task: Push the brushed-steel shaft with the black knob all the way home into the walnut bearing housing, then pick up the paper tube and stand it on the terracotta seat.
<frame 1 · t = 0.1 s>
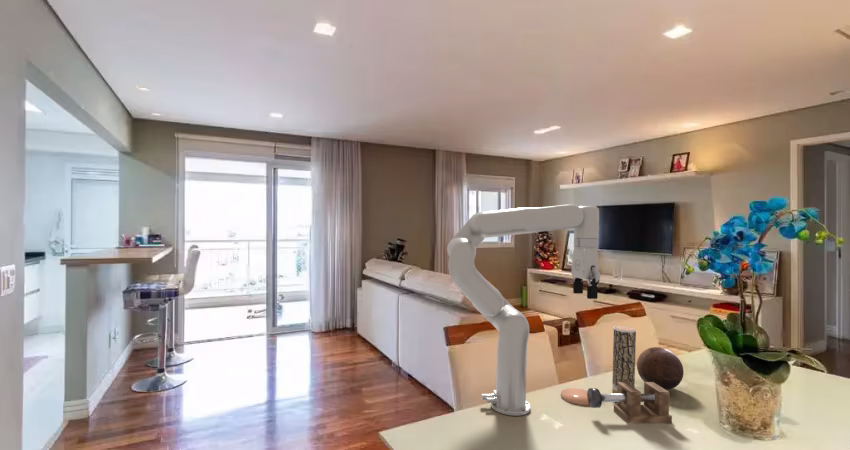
hand: (584, 295, 135), 37 cm above the table, tool pointing down, fingers open, 9 cm apart
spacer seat: (579, 398, 142), on the table
bearing housing: (641, 416, 129), on the table
wooden sphere: (659, 389, 152), on the table
shaft: (623, 397, 129), point 6 cm above the table, slide at 7.0 cm
paper tube: (622, 402, 140), on the table
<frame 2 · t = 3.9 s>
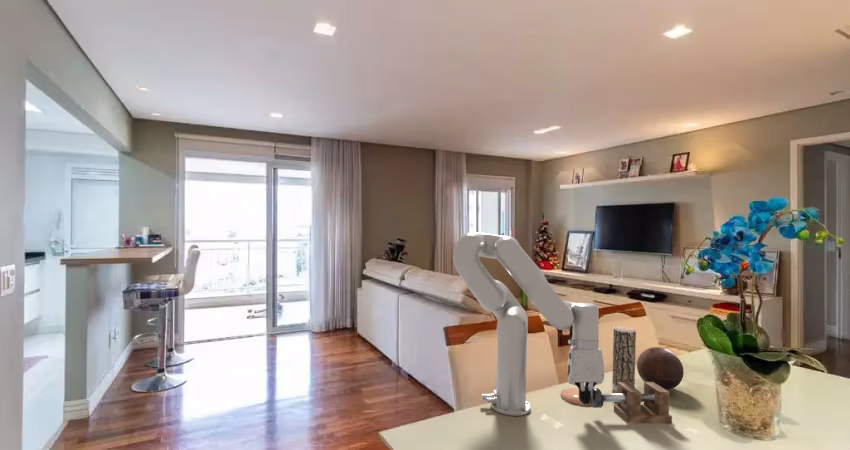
hand: (584, 402, 128), 5 cm above the table, tool pointing down, fingers closed
shaft: (624, 397, 129), point 6 cm above the table, slide at 6.6 cm, touching gripper
everything else where it was.
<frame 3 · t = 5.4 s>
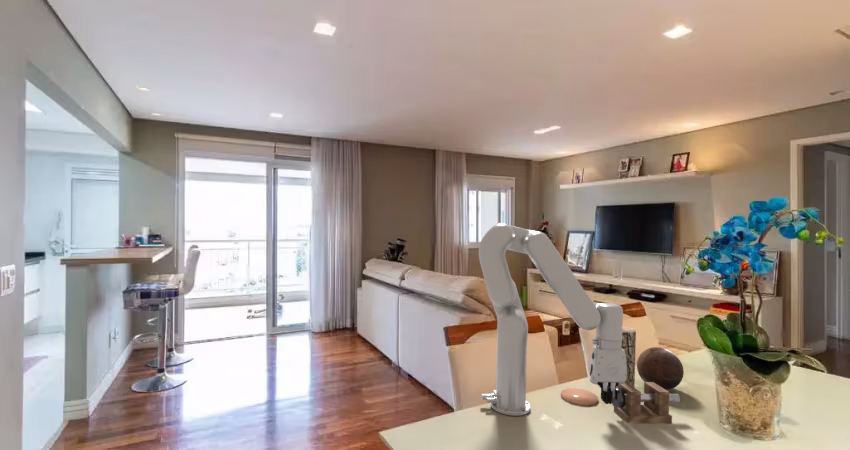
hand: (606, 402, 128), 5 cm above the table, tool pointing down, fingers closed
shaft: (646, 397, 129), point 6 cm above the table, slide at -0.5 cm, touching gripper
everything else where it was.
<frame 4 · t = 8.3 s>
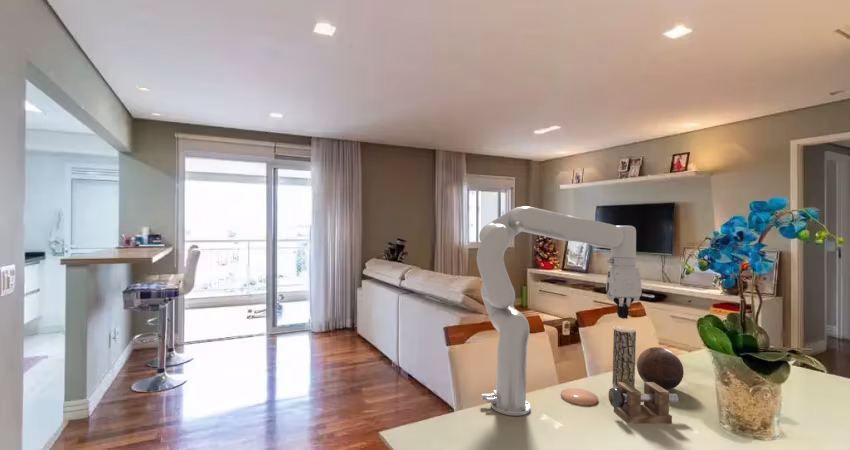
hand: (622, 317, 137), 29 cm above the table, tool pointing down, fingers closed
shaft: (644, 397, 129), point 6 cm above the table, slide at 0.0 cm
everything else where it was.
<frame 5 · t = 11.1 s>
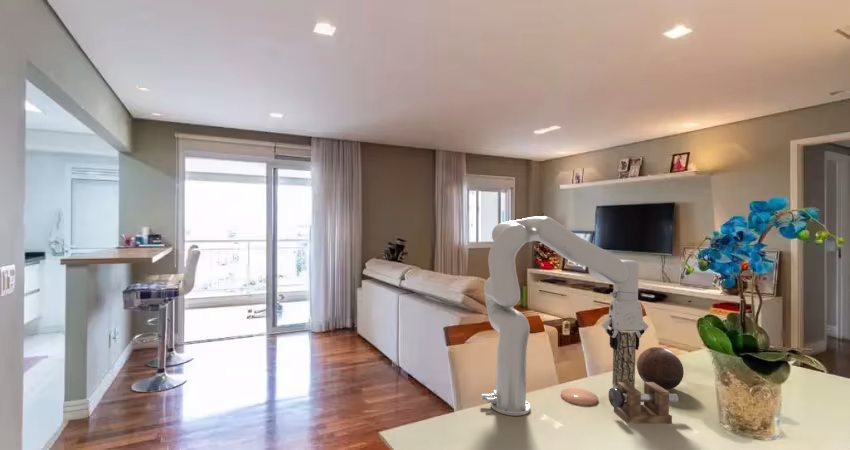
hand: (624, 348, 140), 18 cm above the table, tool pointing down, fingers closed on paper tube, 6 cm apart
paper tube: (622, 402, 140), on the table, touching gripper
everything else where it was.
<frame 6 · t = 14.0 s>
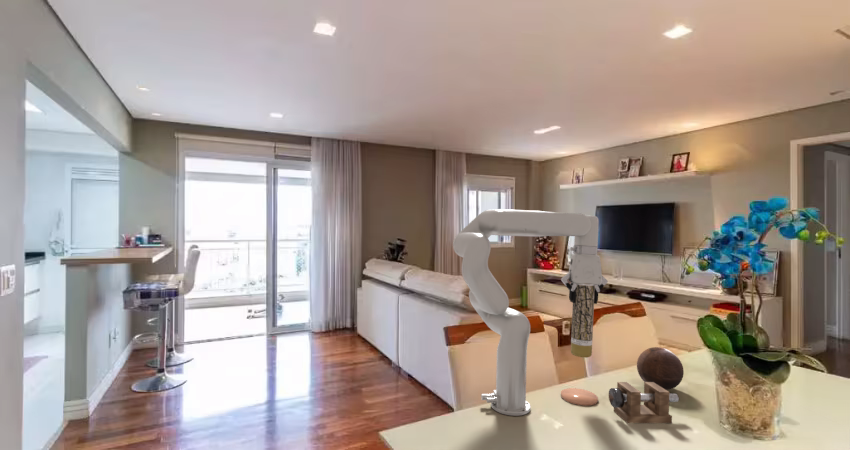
hand: (583, 302, 142), 33 cm above the table, tool pointing down, fingers closed on paper tube, 6 cm apart
paper tube: (581, 355, 142), point 15 cm above the table, touching gripper
everything else where it was.
when the fingers open (21 cm above the table, at t = 17.1 s): paper tube drops 1 cm, resting on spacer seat.
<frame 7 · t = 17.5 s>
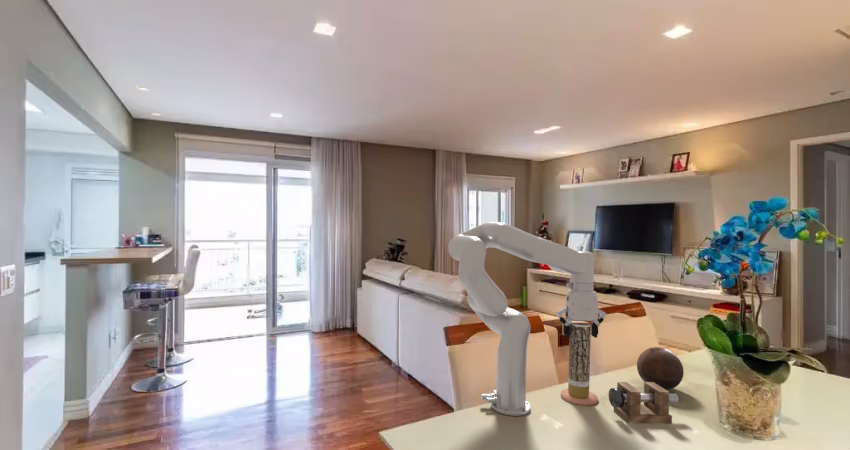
hand: (580, 336, 142), 21 cm above the table, tool pointing down, fingers open, 9 cm apart
paper tube: (578, 395, 142), point 1 cm above the table, touching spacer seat
everything else where it was.
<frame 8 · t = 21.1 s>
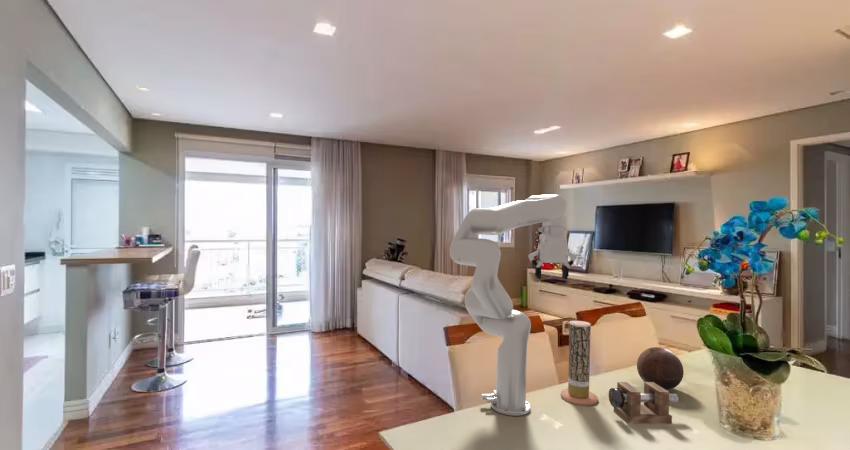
hand: (551, 278, 148), 40 cm above the table, tool pointing down, fingers open, 9 cm apart
nothing on the table moved.
at the end: shaft slide at 0.0 cm; paper tube inside the target area on the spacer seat (0.3 cm from its centre), point 0.8 cm above the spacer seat's base; paper tube tilted 0° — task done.
